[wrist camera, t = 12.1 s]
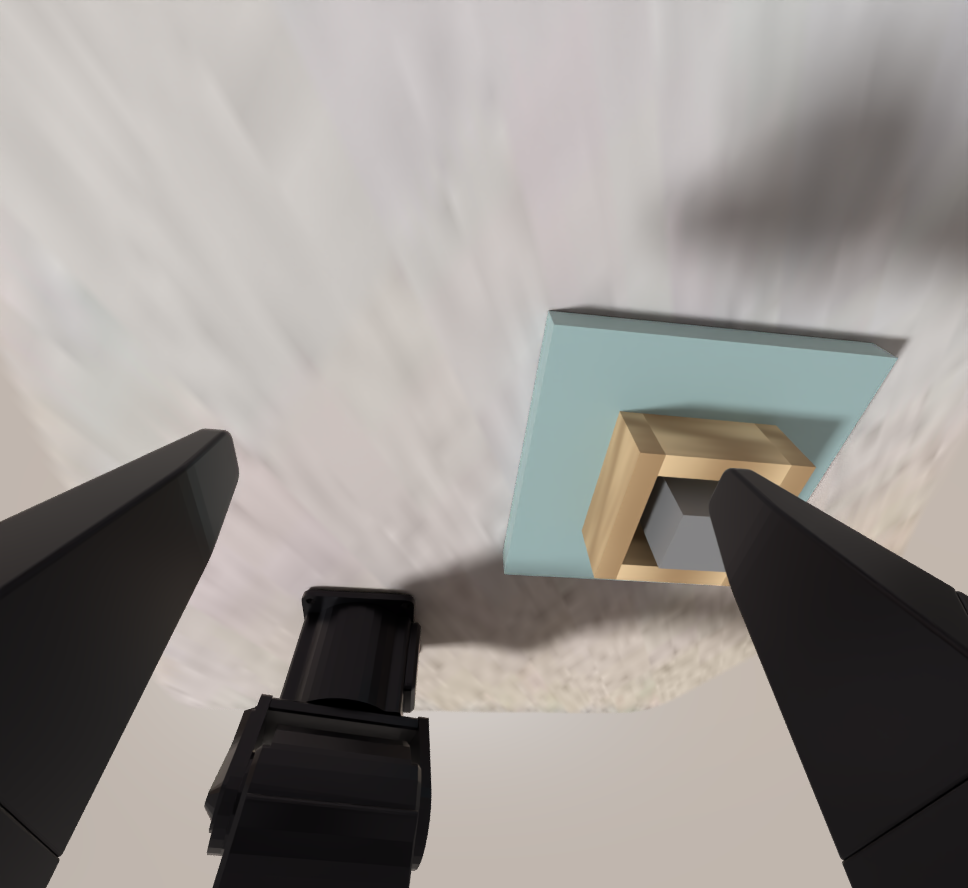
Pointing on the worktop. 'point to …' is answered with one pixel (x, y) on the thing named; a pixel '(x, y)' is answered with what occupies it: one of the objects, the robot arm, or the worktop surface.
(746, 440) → the square frame
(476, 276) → the worktop surface
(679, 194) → the worktop surface
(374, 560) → the worktop surface
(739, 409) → the post board
